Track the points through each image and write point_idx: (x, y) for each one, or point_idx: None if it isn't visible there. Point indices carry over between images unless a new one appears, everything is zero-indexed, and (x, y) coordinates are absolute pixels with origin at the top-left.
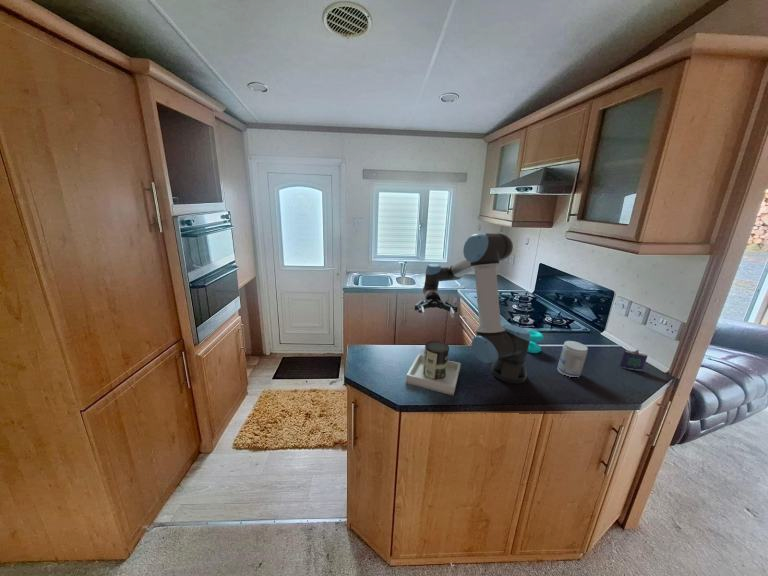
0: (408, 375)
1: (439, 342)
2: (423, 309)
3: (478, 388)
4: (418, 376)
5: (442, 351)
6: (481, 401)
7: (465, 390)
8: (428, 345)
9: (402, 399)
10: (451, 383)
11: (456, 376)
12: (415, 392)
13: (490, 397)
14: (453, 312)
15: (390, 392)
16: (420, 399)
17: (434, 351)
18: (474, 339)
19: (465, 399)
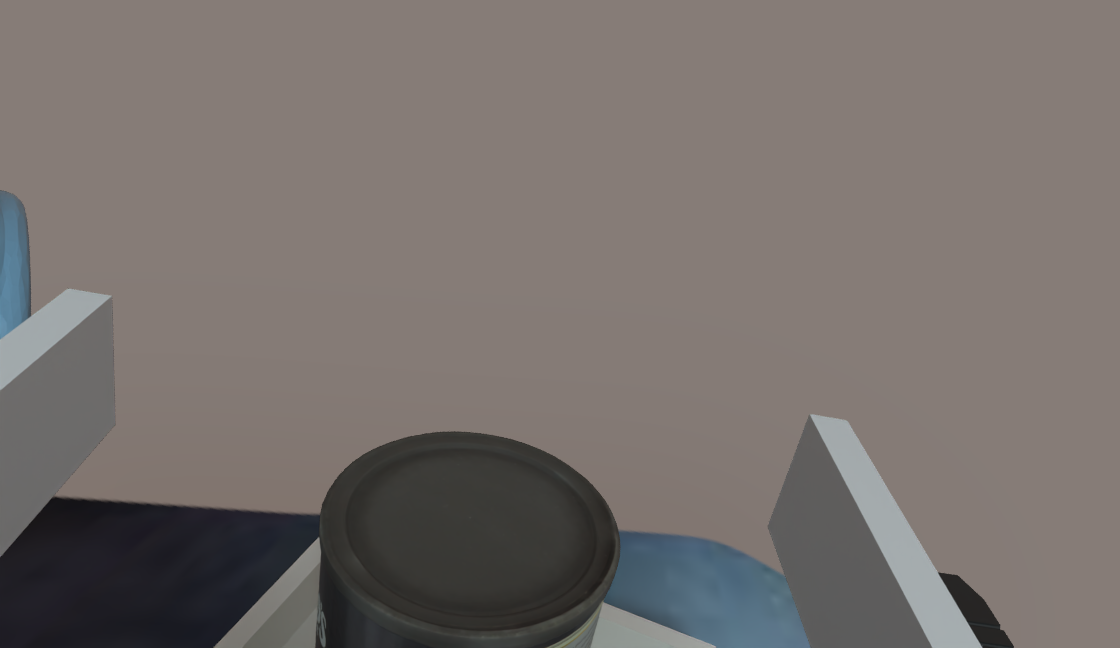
0: (699, 640)
1: (411, 599)
2: (859, 496)
3: (71, 617)
4: (614, 623)
5: (447, 432)
6: (168, 506)
7: (212, 603)
8: (579, 540)
9: (697, 557)
10: (307, 645)
11: (262, 606)
12: (616, 605)
13: (60, 530)
14: (70, 307)
15: (786, 614)
16: None
17: (529, 446)
18: (28, 315)
19: (274, 528)
